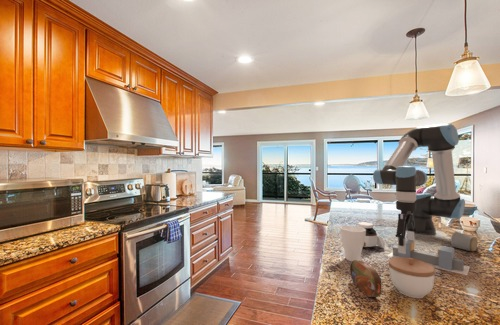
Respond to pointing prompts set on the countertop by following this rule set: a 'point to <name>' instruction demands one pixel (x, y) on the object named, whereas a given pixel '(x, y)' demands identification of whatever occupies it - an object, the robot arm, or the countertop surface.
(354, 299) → the countertop surface
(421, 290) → the lidded bowl
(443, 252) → the fitted finger
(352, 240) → the cup
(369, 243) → the spread jar
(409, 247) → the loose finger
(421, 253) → the rail board
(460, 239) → the grey cylinder
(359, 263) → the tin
